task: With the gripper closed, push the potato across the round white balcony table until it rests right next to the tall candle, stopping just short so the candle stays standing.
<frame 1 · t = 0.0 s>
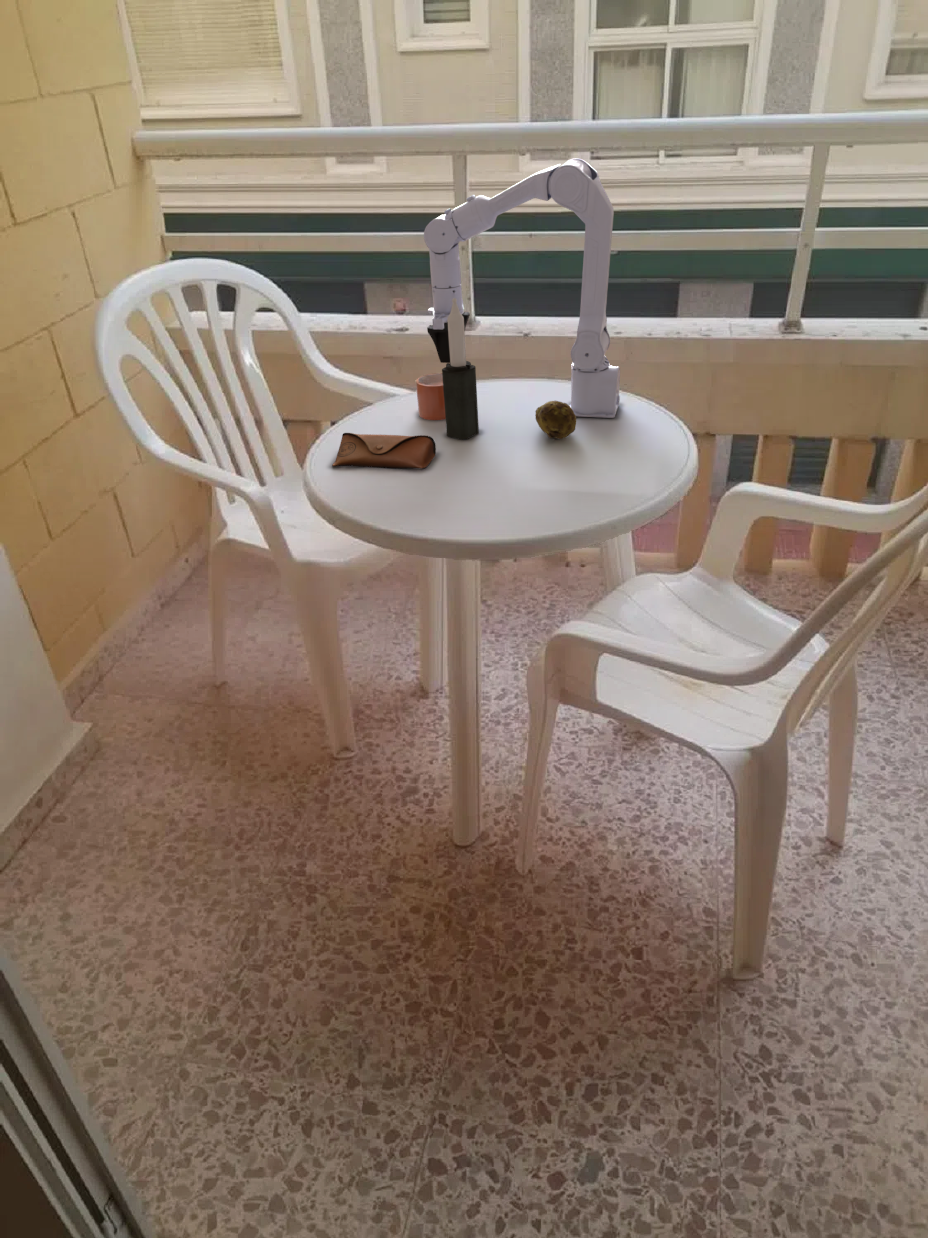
hand: (451, 356, 165), 10 cm above the table, tool pointing down, fingers open, 7 cm apart
flower pot: (438, 413, 168), on the table
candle: (462, 434, 158), on the table
potato: (555, 439, 153), on the table
sunglasses case: (384, 461, 150), on the table
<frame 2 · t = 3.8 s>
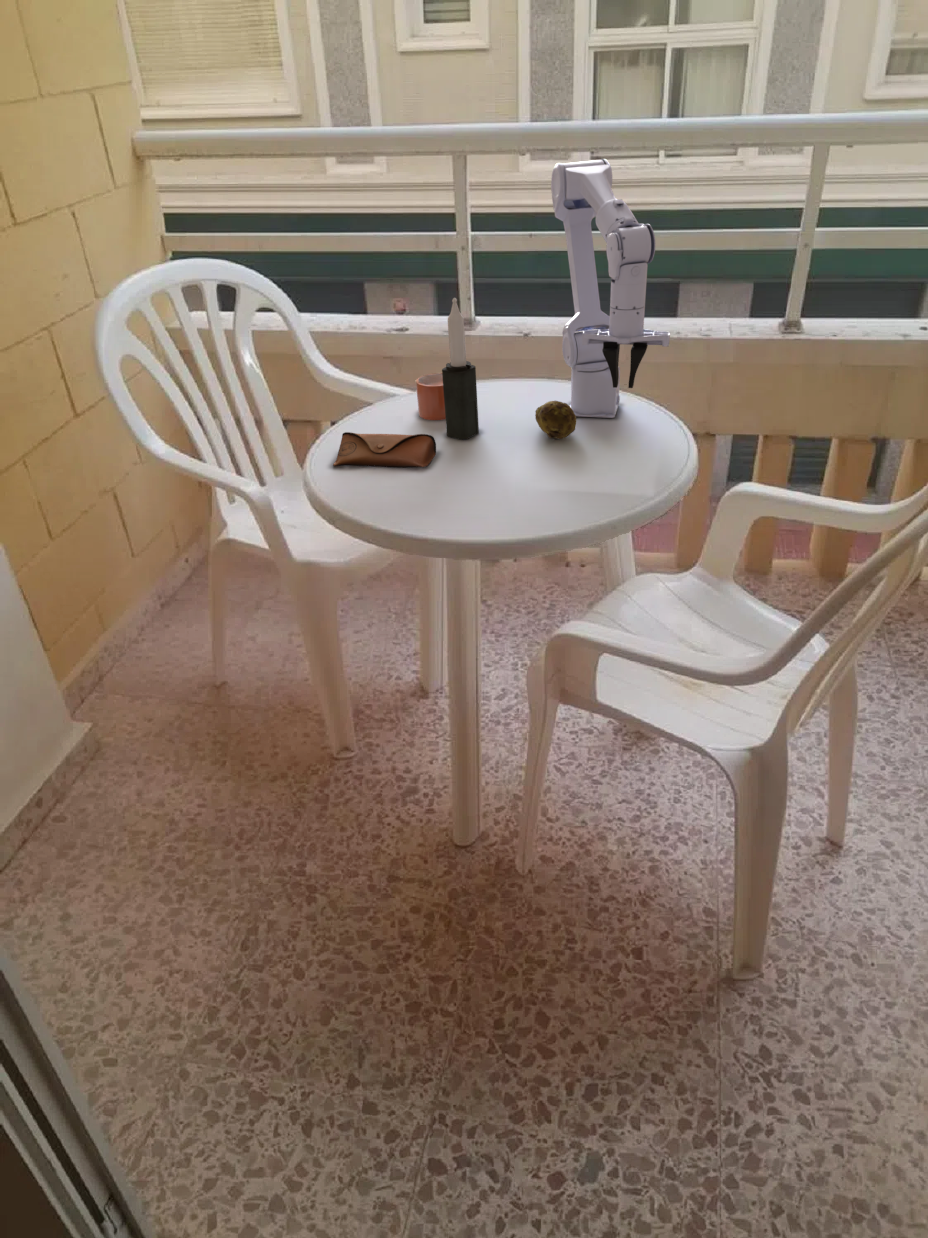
hand: (623, 385, 144), 10 cm above the table, tool pointing down, fingers closed
nothing on the table moved.
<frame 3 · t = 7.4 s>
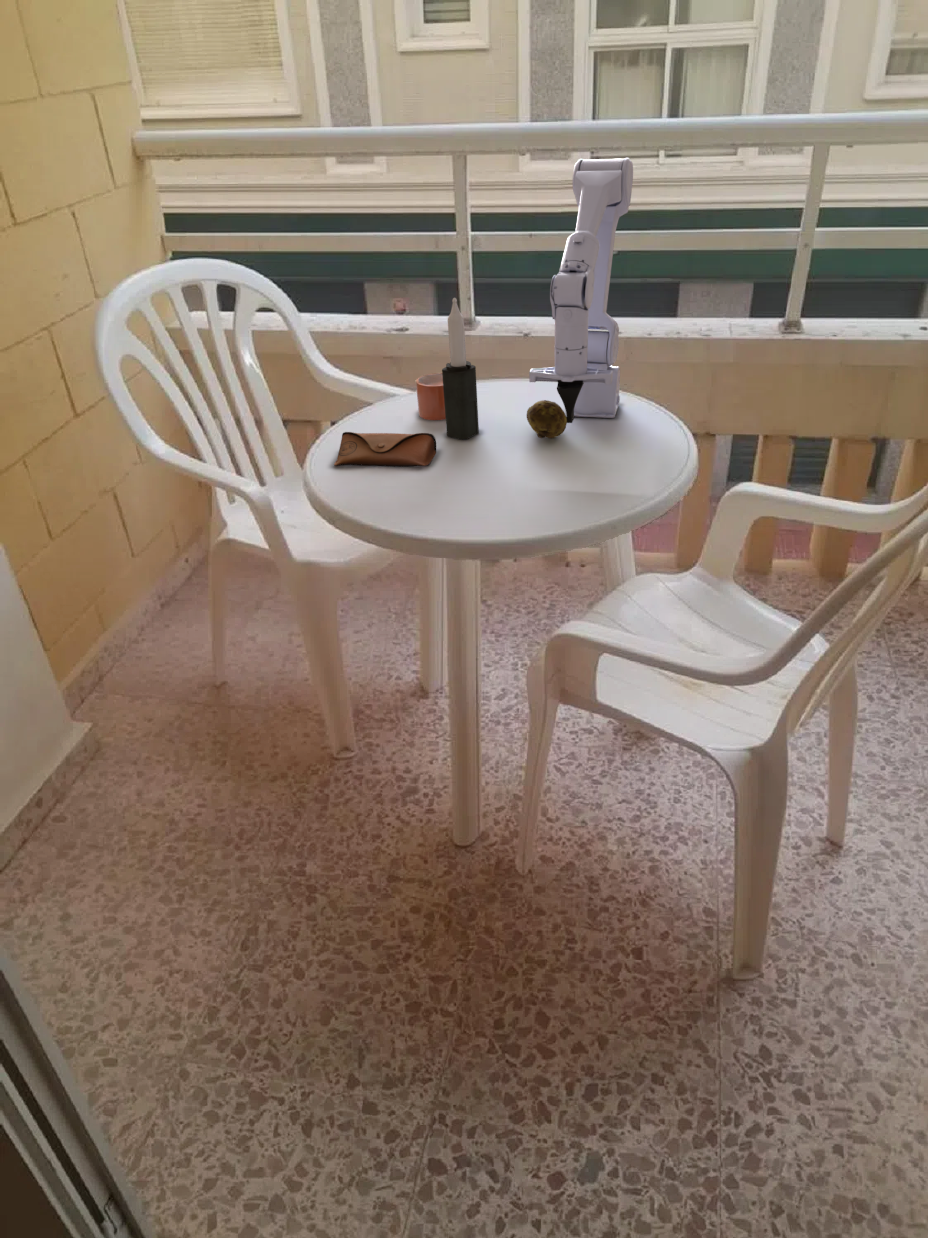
hand: (569, 421, 150), 4 cm above the table, tool pointing down, fingers closed, pressing on potato
potato: (549, 438, 154), on the table, touching gripper
everything else where it was.
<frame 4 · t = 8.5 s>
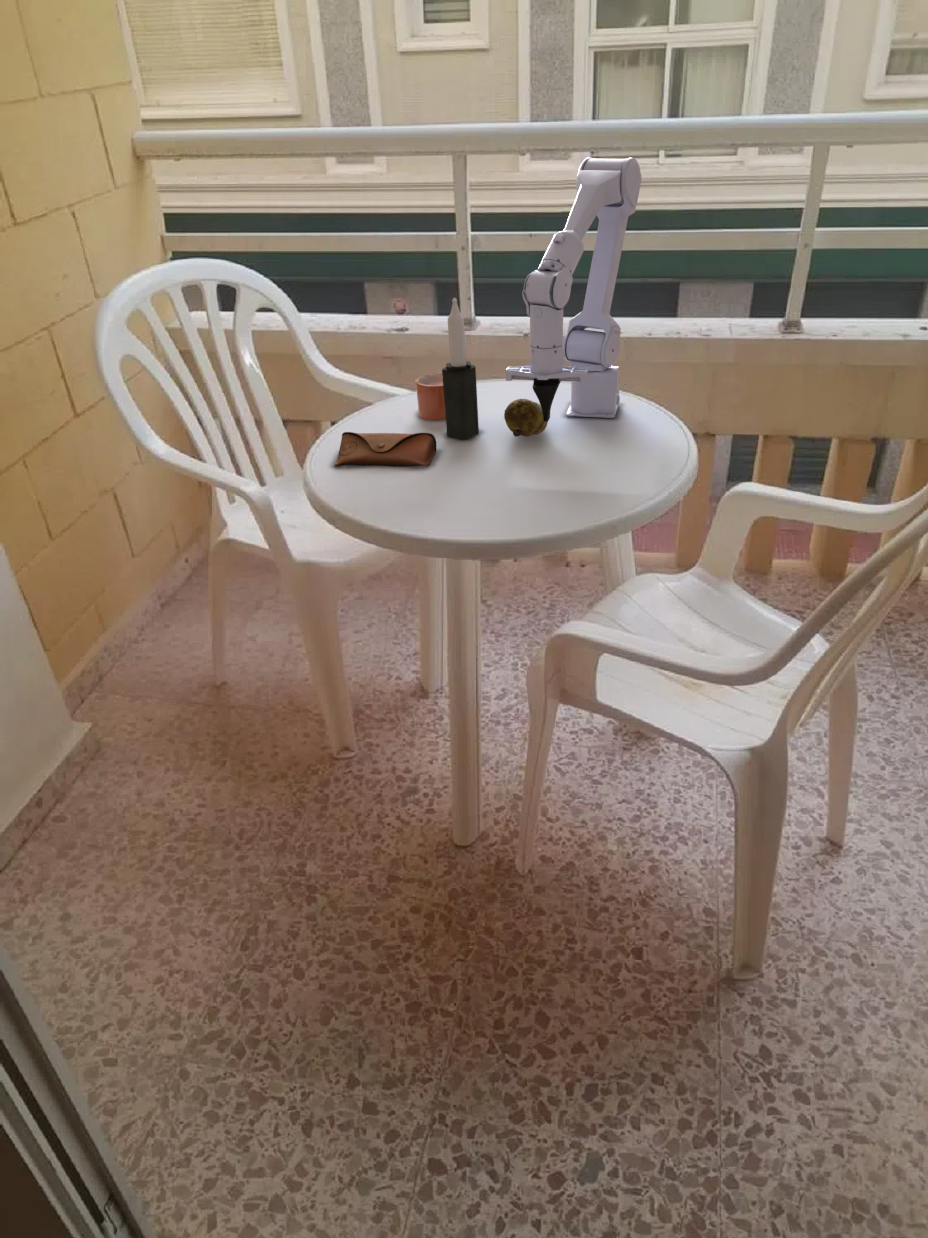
hand: (546, 419, 151), 4 cm above the table, tool pointing down, fingers closed, pressing on potato
potato: (532, 435, 155), on the table, touching gripper
everything else where it was.
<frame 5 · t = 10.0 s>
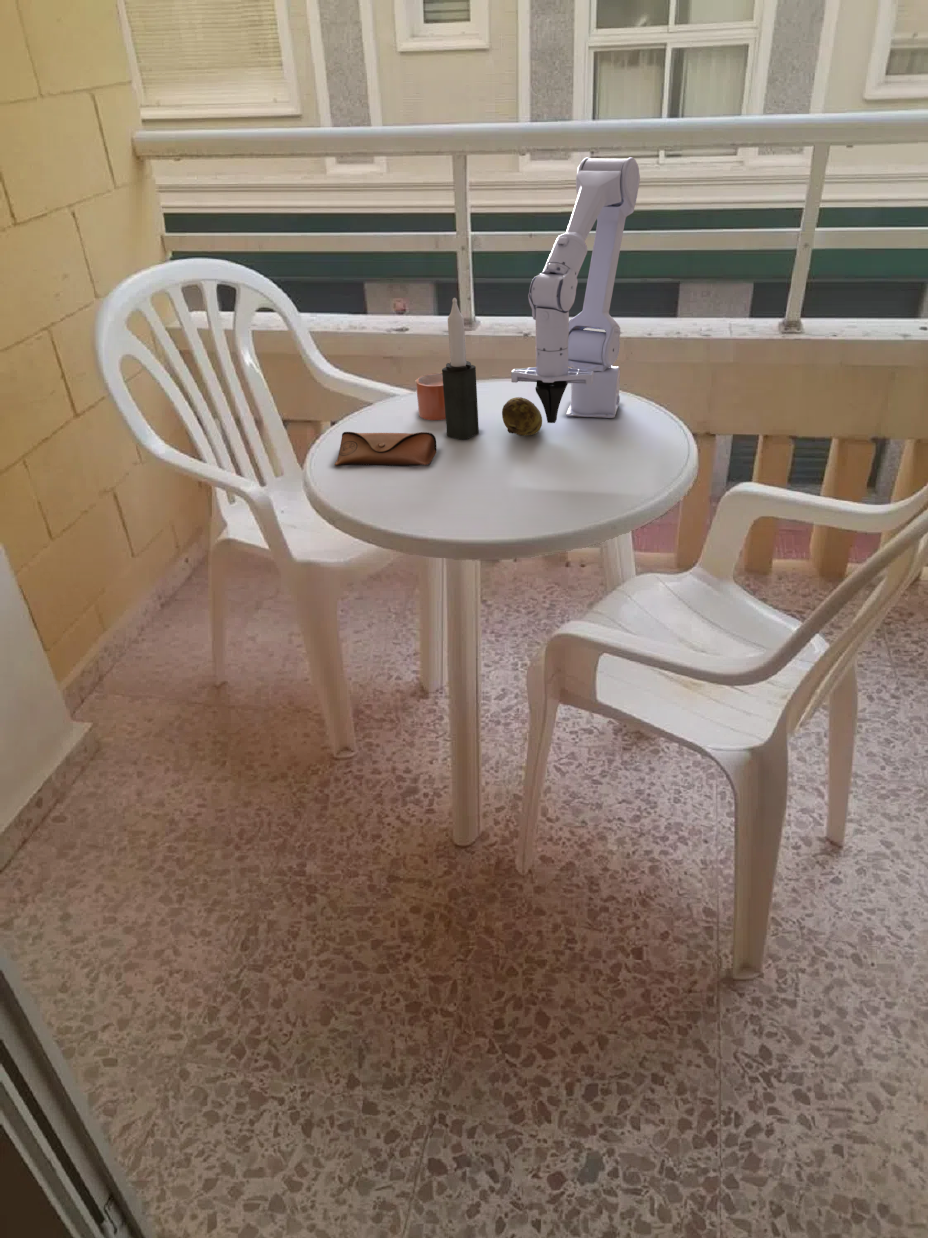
hand: (552, 420, 151), 3 cm above the table, tool pointing down, fingers closed
potato: (523, 435, 156), on the table
everything else where it was.
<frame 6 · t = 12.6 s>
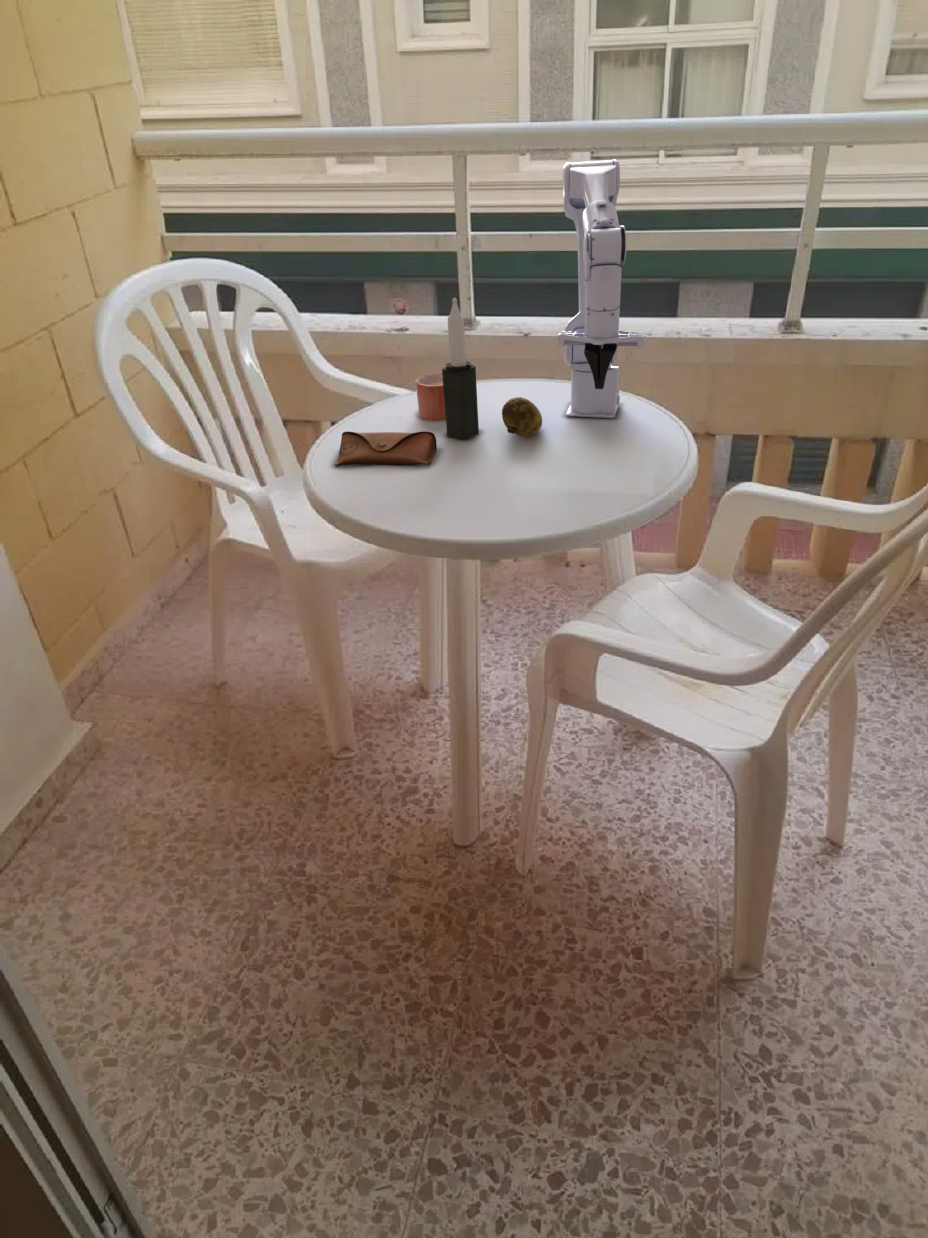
hand: (599, 387, 145), 10 cm above the table, tool pointing down, fingers closed
at the end: potato 11.8 cm from the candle (horizontally); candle tilted 0°; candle moved 0.2 cm from its start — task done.
